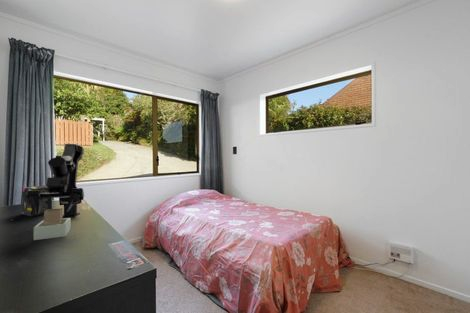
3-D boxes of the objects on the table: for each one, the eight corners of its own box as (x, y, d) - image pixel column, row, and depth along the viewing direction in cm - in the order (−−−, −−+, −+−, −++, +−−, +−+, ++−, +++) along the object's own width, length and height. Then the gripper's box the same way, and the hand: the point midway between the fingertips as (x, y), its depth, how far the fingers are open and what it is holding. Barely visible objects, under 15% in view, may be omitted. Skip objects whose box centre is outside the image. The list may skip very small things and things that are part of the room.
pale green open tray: (42, 232, 91) (42, 220, 91) (70, 229, 96) (70, 217, 96) (33, 240, 83) (33, 227, 83) (65, 236, 87) (65, 224, 87)
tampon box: (21, 214, 119) (21, 187, 119) (42, 210, 128) (42, 185, 128) (30, 216, 114) (31, 188, 114) (52, 212, 122) (52, 186, 122)
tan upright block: (47, 231, 90) (47, 209, 90) (62, 229, 92) (62, 208, 92) (43, 234, 86) (44, 211, 86) (59, 232, 89) (60, 210, 89)
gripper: (27, 170, 89) (14, 203, 79) (83, 169, 97) (78, 199, 87) (34, 187, 96) (23, 219, 86) (85, 185, 104) (81, 214, 94)
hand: (52, 212), depth 88 cm, fingers open, 9 cm apart
